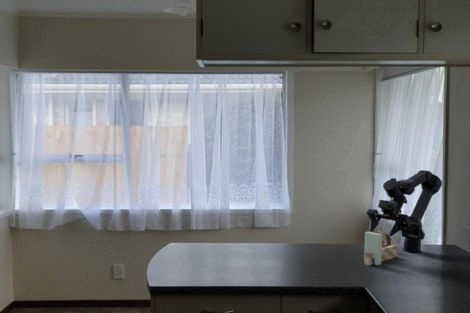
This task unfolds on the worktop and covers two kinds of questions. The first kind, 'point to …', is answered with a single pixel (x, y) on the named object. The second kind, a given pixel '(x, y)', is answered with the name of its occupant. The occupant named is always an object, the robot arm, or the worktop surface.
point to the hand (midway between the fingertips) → (380, 233)
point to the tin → (384, 238)
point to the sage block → (373, 246)
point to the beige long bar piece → (382, 254)
